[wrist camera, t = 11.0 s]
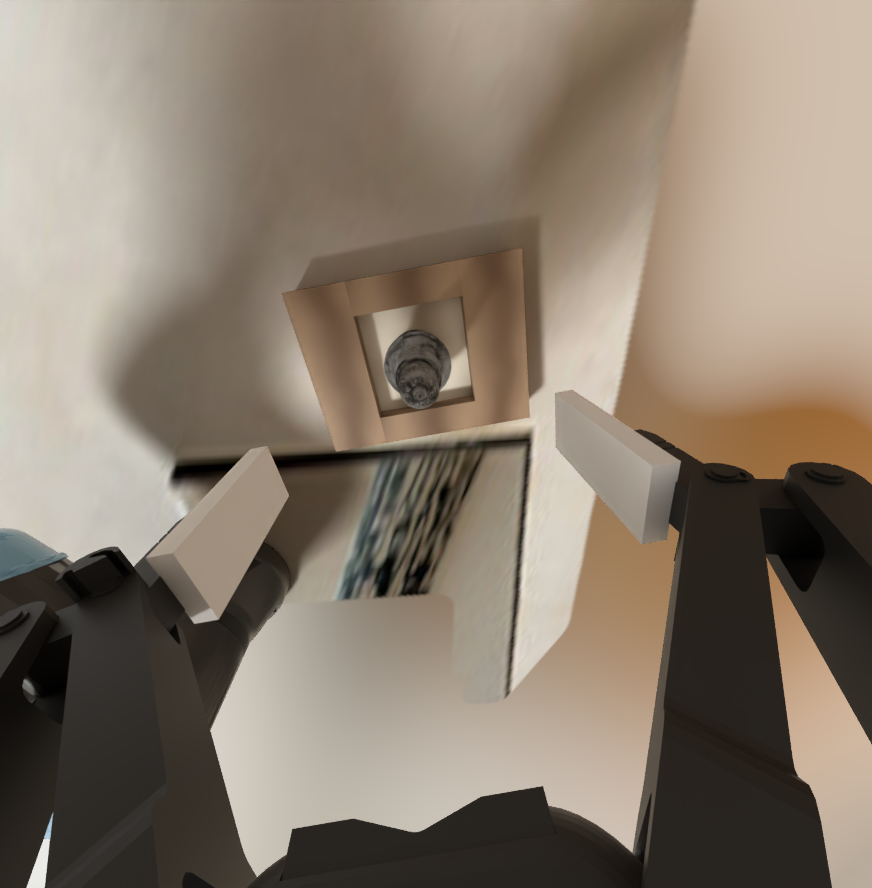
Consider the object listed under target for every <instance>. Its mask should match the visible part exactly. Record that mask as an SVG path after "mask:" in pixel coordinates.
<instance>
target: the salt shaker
mask: <svg viewBox="0 0 872 888" xmlns="http://www.w3.org/2000/svg"><path fill="white" fill-rule="evenodd" d="M384 369H385V375H386V377H387V379H388V382H389V383H390V384H391V386H392V387H393V388H394V389H395V390H396V391H397V392H398V393H399V394H400V396H401V398H402V399H403V401H404V402H405V403H406V404H407V405H408V406H410V407H413V408H416V409H424V408H427V407H429V406H431V405H432V404H433V403H434V402H435V401H436V400H437V398H438V396H439V391H440V390H441V389H442V388H443V387H444V386H445V385H446V383H447V381H448V379H449V377H450V373H451V369H452V368H451V358H450V354H449V351H448V350H447V348H446V346H445V345H444V343H443V342H441V341H440V340H439V339H438V338H437V337H435V336H434V335H433V334H431V333H429V332H427V331H424V330H420V329H417V330H410V331H407V332H404V333H403V334H402V335H400V336H399V337H398V338H397V339H396V340H394V342H393V343H392V344H391V345H390V347H389V348H388V350H387V353H386V355H385V361H384Z"/></svg>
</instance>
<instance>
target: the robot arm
mask: <svg viewBox="0 0 872 888" xmlns="http://www.w3.org/2000/svg"><path fill="white" fill-rule="evenodd" d="M555 417H556V448H557V449H558V450H559V452H560V453H561V454H562V455H563V456H564V457H565V458H566V459H567V461H568V462H569V463H570V464H571V465H572V466H573V467H574V468H575V470H576V471H577V472H578V473H579V474H580V475H581V476H582V477H583V479H584V480H585V481H586V482H587V483H588V484H589V485H590V486H591V488H592V489H593V490H594V491H595V492H596V493H597V494H598V495H599V496H600V498H601V499H602V500H603V501H604V502H605V503H606V504H607V506H608V507H609V508H610V509H611V510H612V511H613V512H614V513H615V515H616V516H617V517H618V518H619V519H620V520H621V521H622V522H623V524H624V525H625V526H626V527H627V528H628V529H629V530H630V532H631V533H632V534H633V535H634V536H635V537H636V538H637V539H638V541H639V542H640V543H641V544H645V543H651V542H656V541H662V540H667V535H668V530H669V524H671V525H672V526H673V527H674V528H675V529H676V530H677V531H679V538H678V543H677V548H676V554H675V558H674V561H675V565H674V572H673V580H672V587H671V594H670V601H669V608H668V616H667V622H666V629H665V637H664V644H663V651H662V658H661V665H660V672H659V679H658V686H657V694H656V701H655V708H654V715H653V722H652V729H651V736H650V743H649V750H648V758H647V765H646V772H645V780H644V786H643V792H642V798H641V803H640V809H639V814H638V821H637V827H636V833H635V840H634V848H633V853H632V852H630V851H629V850H628V849H627V848H626V847H625V846H624V845H622V844H621V843H620V842H619V841H618V840H617V839H615V838H614V837H613V836H611V835H610V834H609V833H607V832H606V831H605V830H603V829H602V828H600V827H599V826H597V825H596V824H594V823H592V822H590V821H589V820H587V819H585V818H583V817H581V816H579V815H577V814H574V813H572V812H569V811H567V810H564V809H561V808H556V807H552V806H548V803H547V800H546V796H545V792H544V789H543V786H542V787H536V788H530V789H525V790H518V791H513V792H506V793H501V794H495V795H489V796H483V797H480V798H478V799H477V800H475V801H473V802H471V803H470V804H468V805H466V806H464V807H463V808H461V809H459V810H458V811H456V812H454V813H452V814H451V815H449V816H447V817H446V818H444V819H442V820H440V821H438V822H437V823H435V824H433V825H432V826H430V827H428V828H427V829H425V830H423V831H420V832H408V831H404V830H400V829H396V828H391V827H387V826H382V825H378V824H374V823H369V822H365V821H361V820H357V819H349V820H343V821H337V822H331V823H325V824H319V825H313V826H308V827H302V828H296V829H292V833H291V838H290V843H289V847H288V852H287V855H285V856H284V857H282V858H281V859H279V860H278V861H277V862H275V863H274V864H273V865H271V866H270V867H268V868H267V869H266V870H265V871H264V872H263V873H262V874H260V875H259V876H258V877H256V875H255V873H254V872H253V870H252V868H251V866H250V865H249V863H248V861H247V859H246V857H245V854H244V852H243V849H242V846H241V842H240V838H239V835H238V831H237V827H236V824H235V820H234V816H233V813H232V809H231V805H230V801H229V798H228V794H227V791H226V787H225V783H224V779H223V776H222V772H221V768H220V765H219V761H218V757H217V754H216V750H215V746H214V743H213V739H212V735H211V732H210V730H211V728H212V725H213V723H214V721H215V719H216V716H217V714H218V712H219V710H220V708H221V705H222V703H223V701H224V699H225V696H226V694H227V692H228V690H229V687H230V685H231V683H232V681H233V678H234V676H235V674H236V672H237V670H238V667H239V665H240V663H241V661H242V658H243V656H244V654H245V652H246V650H247V647H248V645H249V643H250V642H251V640H253V638H254V637H255V636H256V635H257V634H258V632H259V631H260V630H261V629H262V627H263V626H264V624H265V623H266V621H267V620H268V619H269V618H271V617H272V616H273V615H274V614H275V613H276V612H277V610H278V609H279V608H280V606H281V605H282V603H283V601H284V598H285V596H286V594H287V591H288V589H289V585H290V575H289V571H288V568H287V566H286V564H285V562H284V561H283V559H282V558H281V557H280V556H279V555H278V554H277V553H276V552H275V551H274V550H273V549H272V548H271V547H269V546H268V545H266V544H265V543H263V541H264V539H265V537H266V536H267V534H268V532H269V530H270V529H271V527H272V525H273V523H274V522H275V520H276V518H277V516H278V515H279V513H280V511H281V509H282V508H283V506H284V504H285V502H286V501H287V499H288V497H289V494H288V492H287V490H286V487H285V485H284V483H283V481H282V478H281V476H280V474H279V472H278V469H277V467H276V465H275V463H274V460H273V458H272V456H271V453H270V451H269V449H268V447H267V446H264V447H258V448H253V449H250V450H249V451H248V452H247V453H246V454H245V455H244V456H243V457H242V458H241V459H240V460H239V461H238V462H237V463H236V465H235V466H234V467H233V468H232V469H231V470H230V471H229V472H228V473H227V474H226V475H225V476H224V477H223V478H222V479H221V480H220V481H219V482H218V483H217V484H216V485H215V486H214V487H213V488H212V489H211V490H210V491H209V493H208V494H207V495H206V496H205V497H204V498H203V499H202V500H201V501H200V502H199V503H198V504H197V505H196V506H195V507H194V508H193V509H192V510H191V511H190V512H189V513H188V514H187V515H186V516H185V517H184V518H182V519H181V520H180V521H178V522H177V523H176V524H175V525H174V526H173V527H172V528H171V529H170V530H169V531H168V532H167V533H168V534H165V535H164V536H163V537H162V538H161V539H160V540H159V543H157V544H156V545H155V546H154V547H153V548H152V549H151V550H150V551H149V552H148V553H147V554H146V555H145V556H144V557H143V558H142V559H141V560H140V561H139V562H138V563H137V564H136V565H135V566H134V567H133V566H132V564H131V563H130V562H129V561H128V559H127V558H126V557H125V555H124V554H123V553H122V552H121V550H120V549H119V548H118V547H108V548H104V549H100V550H98V551H95V552H93V553H90V554H88V555H86V556H85V557H83V558H81V559H79V560H77V561H76V562H74V563H73V562H71V561H70V560H68V559H67V557H68V555H67V554H65V553H58V552H56V551H54V550H53V549H51V548H50V547H48V546H46V545H45V544H43V543H41V542H40V541H38V540H37V539H35V538H33V537H32V536H30V535H28V534H27V533H25V532H22V531H19V530H15V529H4V528H3V529H0V888H26V887H27V884H28V881H29V878H30V876H31V873H32V870H33V867H34V864H35V862H36V859H37V856H38V853H39V850H40V847H41V845H42V842H43V839H50V846H49V855H48V864H47V873H46V883H45V888H832V886H831V880H830V873H829V867H828V861H827V855H826V849H825V843H824V837H823V831H822V825H821V820H820V816H819V811H818V807H817V803H816V799H815V797H814V795H813V793H812V790H811V788H810V786H809V785H808V784H807V783H805V782H804V781H803V780H801V779H800V778H799V777H798V775H797V773H796V771H795V768H794V763H793V758H792V751H791V743H790V735H789V728H788V720H787V712H786V705H785V697H784V690H783V682H782V674H781V667H780V659H779V652H778V644H777V637H776V629H775V621H774V614H773V606H772V599H771V591H770V583H769V576H768V569H767V561H766V557H767V559H768V560H769V562H770V564H771V566H772V568H773V569H774V571H775V573H776V575H777V576H778V578H779V580H780V582H781V584H782V585H783V587H784V589H785V591H786V592H787V594H788V596H789V598H790V600H791V601H792V603H793V605H794V607H795V608H796V610H797V612H798V614H799V616H800V617H801V619H802V621H803V623H804V625H805V626H806V628H807V630H808V631H809V633H810V635H811V637H812V639H813V641H814V642H815V644H816V646H817V648H818V649H819V651H820V653H821V655H822V656H823V658H824V660H825V662H826V664H827V665H828V667H829V669H830V671H831V673H832V674H833V676H834V678H835V680H836V681H837V683H838V685H839V687H840V689H841V690H842V692H843V694H844V695H845V697H846V699H847V701H848V703H849V705H850V706H851V708H852V710H853V712H854V713H855V715H856V717H857V719H858V721H859V722H860V724H861V726H862V728H863V729H864V731H865V733H866V735H867V737H868V738H869V740H870V742H871V744H872V485H871V484H870V483H869V482H868V481H867V480H866V479H864V478H863V477H862V476H860V475H858V474H856V473H855V472H853V471H850V470H847V469H845V468H842V467H840V466H837V465H831V464H827V463H814V462H804V463H797V464H793V465H791V466H790V467H789V468H788V470H787V473H786V476H785V479H755V478H754V476H753V475H752V474H750V473H749V472H747V471H745V470H743V469H741V468H738V467H735V466H731V465H726V464H720V463H706V464H703V463H702V462H700V461H698V460H697V459H695V458H693V457H692V456H690V455H688V454H687V453H685V452H684V451H682V450H680V449H679V448H675V446H674V445H672V444H671V443H669V442H666V440H664V439H663V438H661V437H659V436H658V435H656V434H653V433H650V432H647V431H644V430H632V429H631V428H629V427H628V426H626V425H625V424H623V423H622V422H620V421H619V420H617V419H616V418H614V417H613V416H611V415H610V414H608V413H607V412H605V411H604V410H602V409H601V408H599V407H598V406H596V405H595V404H593V403H591V402H590V401H588V400H587V399H585V398H584V397H582V396H581V395H579V394H578V393H576V392H575V391H573V390H569V391H563V392H558V393H555Z"/></svg>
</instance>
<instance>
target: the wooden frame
mask: <svg viewBox="0 0 872 888" xmlns="http://www.w3.org/2000/svg"><path fill="white" fill-rule="evenodd" d="M282 295H283V298H284V301H285V304H286V307H287V310H288V313H289V316H290V319H291V321H292V324H293V327H294V330H295V333H296V336H297V339H298V342H299V345H300V348H301V351H302V354H303V357H304V359H305V362H306V365H307V368H308V371H309V374H310V377H311V380H312V383H313V386H314V389H315V392H316V394H317V397H318V400H319V403H320V406H321V409H322V412H323V415H324V418H325V421H326V424H327V427H328V430H329V432H330V435H331V438H332V441H333V444H334V447H335V450H336V452H337V451H343V450H349V449H354V448H360V447H365V446H371V445H377V444H382V443H388V442H394V441H399V440H405V439H411V438H416V437H422V436H427V435H433V434H439V433H444V432H450V431H456V430H461V429H467V428H473V427H478V426H484V425H489V424H495V423H501V422H506V421H512V420H518V419H523V418H529V417H530V413H529V391H528V369H527V347H526V325H525V303H524V281H523V259H522V248H519V249H513V250H508V251H503V252H497V253H492V254H487V255H481V256H476V257H471V258H466V259H460V260H455V261H450V262H444V263H439V264H434V265H429V266H423V267H418V268H413V269H407V270H402V271H397V272H392V273H386V274H381V275H376V276H370V277H365V278H360V279H354V280H349V281H344V282H339V283H333V284H328V285H323V286H317V287H312V288H307V289H302V290H296V291H291V292H286V293H282ZM417 329H420V330H424V331H427V332H429V333H431V334H433V335H434V336H435V337H437V338H438V339H439V340H440V341H441V342H443V343H444V345H445V346H446V348H447V350H448V351H449V354H450V358H451V368H452V369H451V373H450V377H449V379H448V381H447V383H446V385H445V386H444V387H443V388H442V389H441V390H440V391H439V396H438V398H437V400H436V401H435V402H434V403H433V404H432V405H431V406H429V407H427V408H424V409H416V408H413V407H410V406H408V405H407V404H406V403H405V402H404V401H403V399H402V398H401V396H400V394H399V393H398V392H397V391H396V390H395V389H394V388H393V387H392V386H391V384H390V383H389V382H388V379H387V377H386V375H385V369H384V361H385V355H386V353H387V350H388V348H389V347H390V345H391V344H392V343H393V342H394V340H396V339H397V338H398V337H399V336H400V335H402V334H403V333H404V332H407V331H410V330H417Z"/></svg>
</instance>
